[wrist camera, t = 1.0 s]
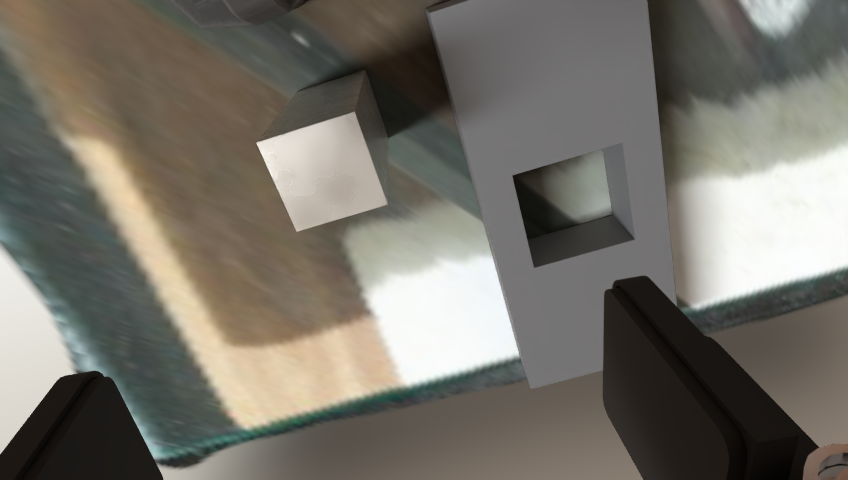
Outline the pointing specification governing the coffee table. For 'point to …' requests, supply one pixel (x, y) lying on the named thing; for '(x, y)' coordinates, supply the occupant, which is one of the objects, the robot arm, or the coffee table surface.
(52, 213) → the coffee table surface
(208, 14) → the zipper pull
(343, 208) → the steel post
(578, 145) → the grey block with hole
